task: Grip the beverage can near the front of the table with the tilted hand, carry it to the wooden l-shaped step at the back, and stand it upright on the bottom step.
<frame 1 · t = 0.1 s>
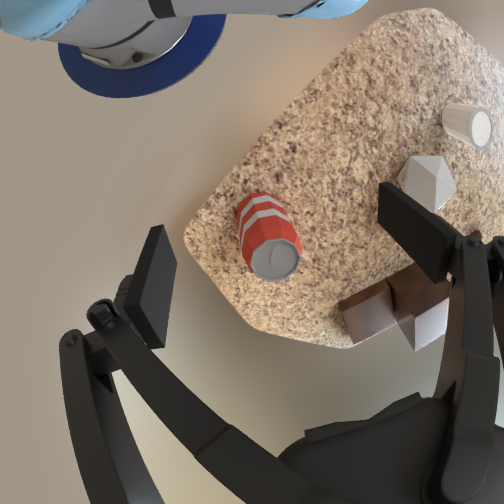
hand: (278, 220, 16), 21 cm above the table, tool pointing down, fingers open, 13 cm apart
shot glass: (451, 118, 33), on the table
wooden l-shaped step: (387, 298, 52), on the table
beverage can: (258, 211, 39), on the table
die: (410, 173, 38), on the table
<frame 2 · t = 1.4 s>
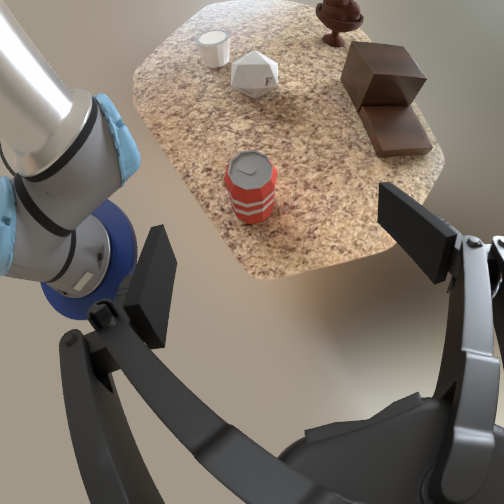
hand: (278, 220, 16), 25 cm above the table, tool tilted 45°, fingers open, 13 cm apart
shot glass: (216, 60, 50), on the table
wooden l-shaped step: (384, 113, 46), on the table
ice cream bowl: (333, 41, 51), on the table
beverage can: (253, 205, 43), on the table
die: (255, 89, 48), on the table
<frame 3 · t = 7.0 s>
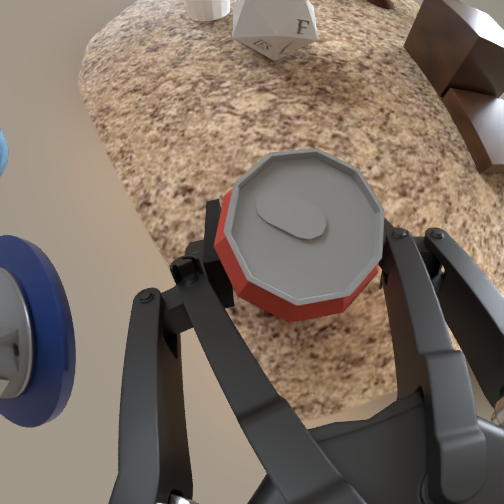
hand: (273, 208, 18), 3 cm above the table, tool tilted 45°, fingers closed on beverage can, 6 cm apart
shot glass: (209, 13, 28), on the table
wooden l-shaped step: (470, 103, 23), on the table
ice cream bowl: (378, 2, 28), on the table
beverage can: (282, 271, 20), on the table, touching gripper
die: (274, 47, 25), on the table
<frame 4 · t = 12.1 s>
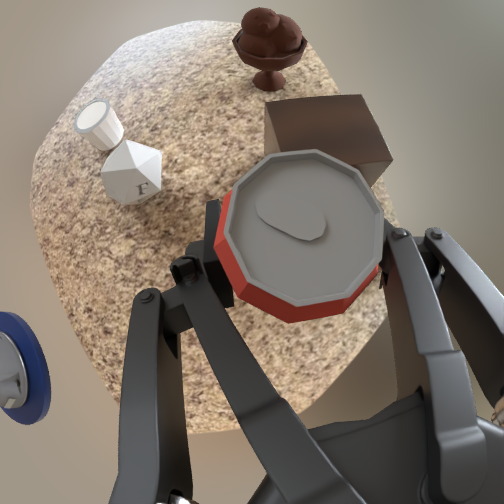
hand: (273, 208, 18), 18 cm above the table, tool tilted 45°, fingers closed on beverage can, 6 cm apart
shot glass: (109, 137, 41), on the table
wooden l-shaped step: (324, 207, 37), on the table
ice cream bowl: (269, 81, 42), on the table
beverage can: (281, 272, 20), point 15 cm above the table, touching gripper
die: (143, 185, 39), on the table
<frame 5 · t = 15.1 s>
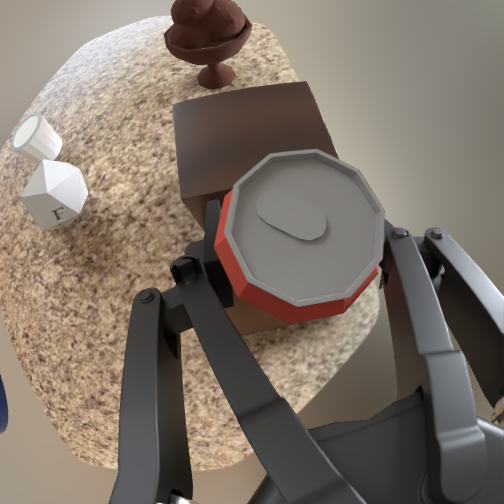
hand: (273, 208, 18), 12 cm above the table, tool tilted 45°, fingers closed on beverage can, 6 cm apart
shot glass: (50, 152, 34), on the table
wooden l-shaped step: (264, 230, 30), on the table
ice cream bowl: (216, 77, 35), on the table
beverage can: (282, 272, 20), point 9 cm above the table, touching gripper
die: (72, 205, 32), on the table
when the fingers open (6 cm above the table, at t = 17.2 s): beverage can stays where it is, resting on wooden l-shaped step.
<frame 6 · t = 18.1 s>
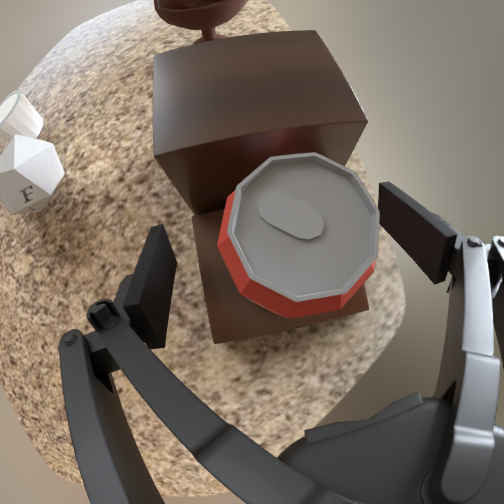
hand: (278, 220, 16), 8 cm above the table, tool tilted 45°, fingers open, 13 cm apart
shot glass: (30, 133, 29), on the table
wooden l-shaped step: (266, 210, 24), on the table
ice cream bowl: (211, 47, 29), on the table
beverage can: (282, 270, 21), point 2 cm above the table, touching wooden l-shaped step
die: (48, 188, 26), on the table
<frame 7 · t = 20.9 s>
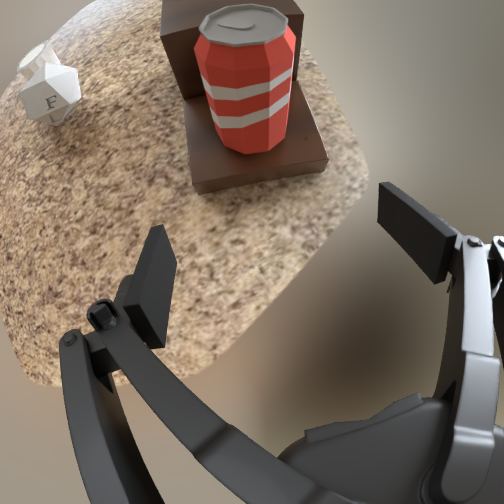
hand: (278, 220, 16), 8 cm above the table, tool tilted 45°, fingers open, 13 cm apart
shot glass: (51, 78, 31), on the table
wooden l-shaped step: (242, 102, 27), on the table
beverage can: (252, 130, 24), point 2 cm above the table, touching wooden l-shaped step
die: (65, 110, 29), on the table
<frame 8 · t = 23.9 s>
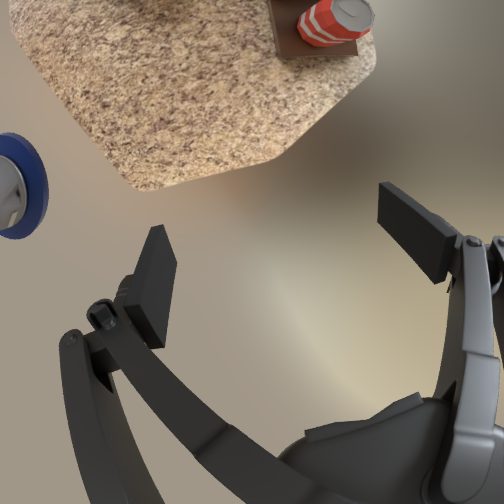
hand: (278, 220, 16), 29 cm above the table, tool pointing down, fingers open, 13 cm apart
wooden l-shaped step: (305, 1, 28), on the table
beverage can: (316, 29, 30), point 2 cm above the table, touching wooden l-shaped step
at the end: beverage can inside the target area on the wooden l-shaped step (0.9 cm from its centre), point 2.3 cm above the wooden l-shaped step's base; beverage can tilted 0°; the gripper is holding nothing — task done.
